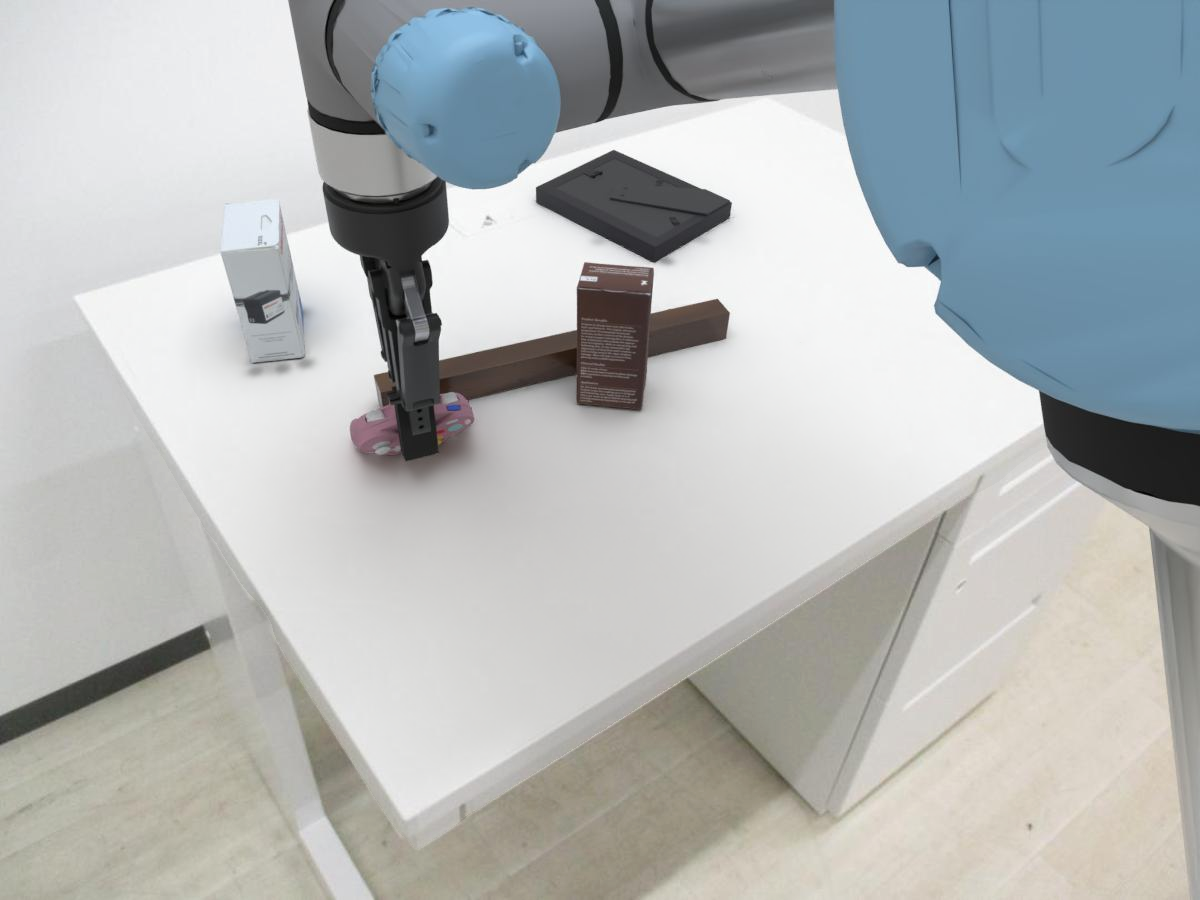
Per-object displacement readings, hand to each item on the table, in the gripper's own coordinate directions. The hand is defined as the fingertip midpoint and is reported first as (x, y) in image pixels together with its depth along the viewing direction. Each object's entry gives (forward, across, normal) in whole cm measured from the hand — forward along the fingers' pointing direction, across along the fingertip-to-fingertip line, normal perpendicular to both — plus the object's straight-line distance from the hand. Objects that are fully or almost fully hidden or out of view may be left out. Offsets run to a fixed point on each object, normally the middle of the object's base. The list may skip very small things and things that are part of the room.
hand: (419, 451), depth 75 cm
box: (+3, +4, -18) cm, 19 cm away
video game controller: (+3, +4, 0) cm, 4 cm away
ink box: (+3, +23, +8) cm, 24 cm away
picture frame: (+3, +33, -33) cm, 47 cm away
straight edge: (+2, +9, -15) cm, 18 cm away
